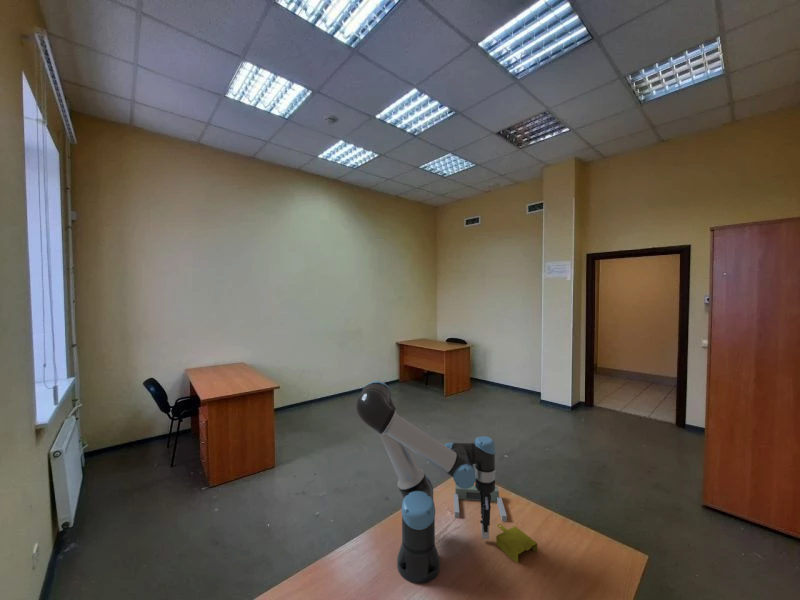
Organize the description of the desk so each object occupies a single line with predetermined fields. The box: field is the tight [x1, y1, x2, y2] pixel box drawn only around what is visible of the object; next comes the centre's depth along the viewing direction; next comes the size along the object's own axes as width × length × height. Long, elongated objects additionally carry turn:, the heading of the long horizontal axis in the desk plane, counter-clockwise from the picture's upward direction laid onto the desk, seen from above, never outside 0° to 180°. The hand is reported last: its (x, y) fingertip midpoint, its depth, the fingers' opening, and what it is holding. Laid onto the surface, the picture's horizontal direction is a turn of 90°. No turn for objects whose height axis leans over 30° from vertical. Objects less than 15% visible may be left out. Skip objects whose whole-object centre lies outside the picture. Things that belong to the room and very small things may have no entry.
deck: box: [453, 483, 508, 522], centre depth 151 cm, size 22×17×6 cm
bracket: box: [495, 523, 538, 564], centre depth 127 cm, size 16×8×15 cm
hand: (485, 537), depth 129 cm, fingers closed
